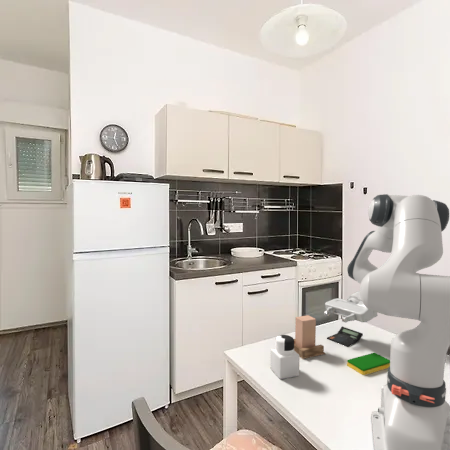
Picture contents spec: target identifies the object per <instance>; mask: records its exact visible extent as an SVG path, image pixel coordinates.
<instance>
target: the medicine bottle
mask: <svg viewBox="0 0 450 450" xmlns="http://www.w3.org/2000/svg"><path fill="white" fill-rule="evenodd" d="M294 339H295V338H294V337H293V336H290V335H288V334H281V335H280V334H279V335H277V336H276V338H275V347H273V348H270V360H269V361H270V364H269V365H270V370H271V371H272V372H273V373H274V374H275V376H276V377H277V378H278V379H280V380H284V379H289V378H295V377H299V376H300V358H301V357H300V356H299V354H298V353H296V352H295V351H294Z"/></svg>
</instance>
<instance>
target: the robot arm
mask: <svg viewBox="0 0 450 450" xmlns="http://www.w3.org/2000/svg"><path fill="white" fill-rule="evenodd" d="M367 211H368V212H367V213H368V218H369V221H370V223H371V224H372V225H374V226H376V229H375V230H372V231H370V232H369V233H367V234H366V235H365V236H364V238H363V240H362V241H361V243H360V244H359V246H358V249H357V251H356V253H355V254H354V257H353V258H352V259H351V261H350V263H349V264H348V265H347V275H348V277H349V278H350V279H352V280H353V281H356V282H357V283H358V284H360V285H359V290H358V291H356V292H354V293H352V294H350V295H348V296H347V298H346V299H343V298H338V297H337V298H333V299H330V300H328V301H326V302H325V303H324V306H325V310H324V312H323V315H324V316H325V317H329V316H331V314H334V315H338V316H341V322H343V323H348V322H352V321H353V322H354V321H357V322H359V323H360V322H361V323H367V322H369V321H371V320H373V319H374V318H377V317H378V314H381V315H384V316H388V317H395V318H401V319H407V320H415V321H417V322H418V321H419V324H418V325H417V326H416V327H413V328H411V329H407V330H403V331H400V332H398V333H397V334H395V335H394V336H393V337H392V338H391V341H390V351H389V352H390V353H389V354H390V357H389V360H390V367H389V368H387V373H386V379H387V381H386V384H385V385H382V386H381V390H380V407H378V409H377V410H373V411H371V414H370V419H371V421H370V422H371V430H372V440H373V450H450V403H448V401H447V400H446V394H447V387H446V382H445V379H444V378H445V365H446V358H447V355H448V354H447V353H448V350H449V348H450V275H449V276H448V275H439V274H438V275H436V274H427V273H425V274H424V273H419V271H421V270H423V269H427V268H430V267H432V266H434V265H435V264H437V263H438V262H439V261H440V260H441V258H442V257H443V253H444V247H443V245H444V244H443V235H442V234H443V233H442V232H444V230H445V229H447V226H448V223H449V221H450V208H449V207H448V205H447V204H446V203H444V202H442V201H439V200H435V199H431V198H430V197H429V196H426V195H422V194H413V195H412V194H411V195H401V194H400V195H397V194H395V195H393V194H392V195H389V194H388V193H387V194H385V193H384V194H377V195H376V196H375V197H373V198H372V200H371V202H370V203H369V206H368V210H367ZM373 250H374V251H378V252H379V251H380V252H382V253H389V254H390V255H388V258H387V260H386V261H385V262H384V263H383V264H382V265H380V266H379V267H378V266H375V265H374V264H372V262H371V261H370V260H369V257H370V255H371V254H372V252H373Z"/></svg>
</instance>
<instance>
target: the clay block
mask: <svg viewBox="0 0 450 450" xmlns="http://www.w3.org/2000/svg"><path fill="white" fill-rule="evenodd" d="M316 324H317V319H316V318H315V317H314V316H310V315H309V314H308V315H302V316H296V317H295V328H294V329H295V331H294V332H295V333H294V335H295V337H294V339H295V344H296V345H297V346H299V347H300V348H306V347H311V346H316V335H317V334H316V329H317V327H316V326H317V325H316Z"/></svg>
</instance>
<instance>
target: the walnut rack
mask: <svg viewBox="0 0 450 450" xmlns="http://www.w3.org/2000/svg"><path fill="white" fill-rule="evenodd" d="M293 339H294V351H295V352H296V353H298V354H299V356H300V358H301V359H302V360H304V359H311V358H314V357H319V356H323V355H326V353H325V351H324V348H325V346H324V345H323V344H318V345H316V344H315V346H311V347H306V348H300V347H299V346H297V345H296V344H295V338H293Z"/></svg>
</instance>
